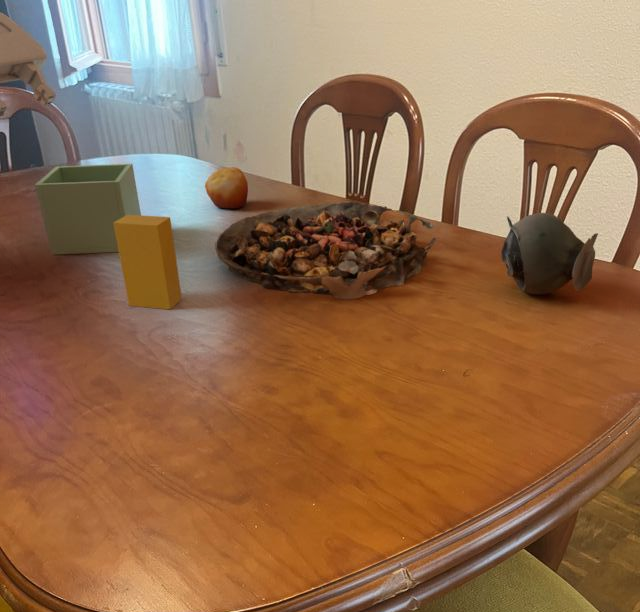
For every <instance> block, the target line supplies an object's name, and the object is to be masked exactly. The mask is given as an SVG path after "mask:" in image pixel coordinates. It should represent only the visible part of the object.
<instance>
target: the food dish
mask: <svg viewBox="0 0 640 612" xmlns="http://www.w3.org/2000/svg"><path fill="white" fill-rule="evenodd" d="M388 211H392V208H390V207H387V206H386V205H385V206H382V205H377V204H372V203H371V204H368V203H365V204H361V203H360V202H357V201H354V200H351V201H340V202H332V203H322V204H310V205H304V206H303V205H300V206H295V207H286V208H281V209H277V210H274V211H267V212H261V213H259V214H256V215H253V216H247V217H244V218H242V219H240V220H237V221H235V222H233V223H232V224H231V225H229V227H227V228H226V229H224V230H223V231H222V232H220V234H219V235H218V236H217V238H216V242H215V243H214V249H215V252H216V254H217V257H218V258H219V260H220V261H222V263H224V264H225V265H227V268H228V271H229V272H231V273H232V274H234V275H236V276H238V277H240V278H244V279H246V280H247V281H248V282H251V283H257V284H260V285H262V286H263V287H264V288H266V289H269V290H277V291H282V292H283V291H286V292H288V293H292V294H293V293H294V294H299V293H311V294H315V295H316V294H317V295H332V296H333V298H334V299H335V298H336V299H340V300H356V299H360V298H362V297H364V296H370V295H374V294H376V293H377V292H378V291H380V290H382V289H386V288H390V287H394V286H399V287H400V286H403V285H405V280H407V279H409V278H410V277H411V276H416V275H418V274H420V273H421V272H423V271H422V268H423V266H424V265H426V257H427V255H428V253H429V250H430V249H431V247H432V246H433V245H434V243H436V239H437V237H432V238H431V241H430V242H429V243H427V244H426V246H425V247H424V246H418V244H417V245H416V242H417V239H418V237H417V234H416V233H415V232H413V231H412V230H411V227H412V224H413V223H415V222H416V221H420V222H421V225H422V226H424V227H425V228H426V229H430V230H431V229H434V227H435V226H434V224H433V223H431V222H430V221H428V220H426V219H423V218H421V219H420V218H418V217H417V215H415V214H413V213H410V212H407V211H403V210H398V209H397V210H395V212H397V213H401V214H403V215H406V216H407V217H408V224H407V225H408V226H407V227H406V223H405V222H406V221H405V220H404V219H399V221H398V222H393V220H388V219H385V220H382V221H380V219H381V216H382V215H383V213H384V212H388Z"/></svg>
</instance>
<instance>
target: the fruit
mask: <svg viewBox="0 0 640 612" xmlns="http://www.w3.org/2000/svg"><path fill="white" fill-rule="evenodd" d="M204 188H205V190H206V194H207V195H208V198H209V199H210V201H211V202H212V204H213V205H214V207H216V208H219V209H240V208H242V207H244V206H245V205H246V204H247V200H248V193H249V185H248V180H247V178H246V176H245V174H244V172H243V170H241V169H240V168H238V167H236V166H231V167H222V168H218V169H217V170H216V171H214V172H212V173H211V175H209V177H207V180H206V182H205V185H204Z"/></svg>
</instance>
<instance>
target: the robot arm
mask: <svg viewBox="0 0 640 612" xmlns="http://www.w3.org/2000/svg"><path fill="white" fill-rule="evenodd" d="M47 57H48V56H47V52H46V50H45V48H44V47H43V46H42V45H41V44H40V43H39V42H38V41H37V40H36V39H35V38H33V37H32V35H30V34H29V33H28V32H27V31H26V30H24V28H23V27H21V25H19V24H18V23H17V22H15V21H14V20H13V19H12V18H11V17H9V16H7V15H6V14H5V13H3V12H1V11H0V84H4V83H10V82H14V81H22V82H23V83H24V84H25V85H29V86H30V87H31V89H32V91H33V94H32V97H33V98H34V99H35V100H36V101H38V102H39V103H40V105H41V106H48V105H51V104H53V102H54V100H56V93H55V91H54V90H53V89H52V88H51V87H50V86H49V85H48V84H47V82H46V79H45V77H44V75H43V73H42V69H43V68H44V65H45V63H46V61H47V59H48V58H47ZM6 110H7V104H6V103H5V101H3V100H1V99H0V117H2V116H4V114H5V112H6Z"/></svg>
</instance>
